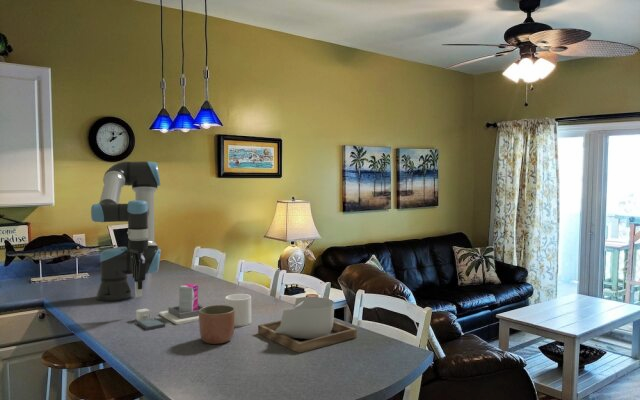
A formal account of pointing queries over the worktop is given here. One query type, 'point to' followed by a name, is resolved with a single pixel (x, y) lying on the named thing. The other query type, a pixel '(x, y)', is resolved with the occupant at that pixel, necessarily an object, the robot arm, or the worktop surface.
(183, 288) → the supplement box
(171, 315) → the plate
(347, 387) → the worktop surface
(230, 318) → the planter
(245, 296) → the mug
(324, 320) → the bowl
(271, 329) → the wooden tray
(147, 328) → the phone
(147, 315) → the white cube
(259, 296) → the worktop surface
